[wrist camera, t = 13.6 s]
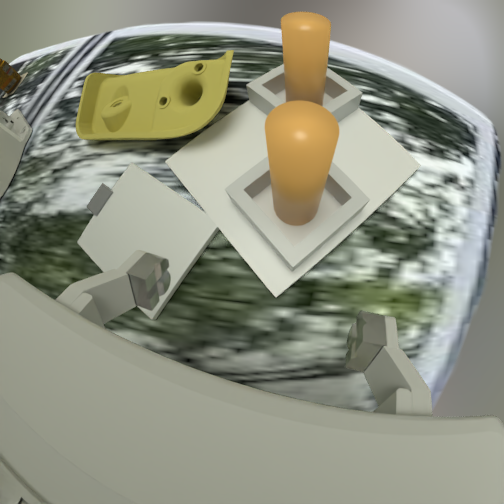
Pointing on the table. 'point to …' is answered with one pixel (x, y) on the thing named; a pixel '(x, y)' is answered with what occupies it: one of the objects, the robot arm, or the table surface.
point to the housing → (257, 164)
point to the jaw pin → (299, 157)
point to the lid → (146, 227)
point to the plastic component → (153, 101)
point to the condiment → (9, 78)
